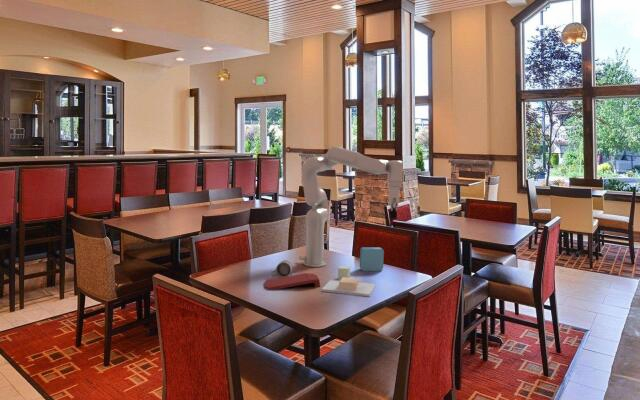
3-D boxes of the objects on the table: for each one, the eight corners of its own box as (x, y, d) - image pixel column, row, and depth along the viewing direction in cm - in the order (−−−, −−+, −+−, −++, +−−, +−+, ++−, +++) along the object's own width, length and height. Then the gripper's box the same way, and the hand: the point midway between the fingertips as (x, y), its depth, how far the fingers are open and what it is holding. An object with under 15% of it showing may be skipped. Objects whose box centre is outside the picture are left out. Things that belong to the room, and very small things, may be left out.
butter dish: (321, 291, 210) (322, 282, 210) (330, 281, 225) (330, 273, 225) (369, 296, 204) (369, 287, 204) (375, 286, 219) (375, 278, 219)
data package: (381, 268, 252) (382, 247, 251) (383, 271, 247) (384, 249, 246) (359, 268, 251) (360, 247, 249) (361, 271, 246) (361, 249, 245)
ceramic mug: (292, 273, 239) (292, 258, 238) (291, 277, 230) (291, 262, 230) (272, 273, 239) (272, 258, 238) (269, 277, 231) (269, 262, 230)
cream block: (337, 279, 229) (338, 268, 228) (340, 277, 234) (340, 265, 233) (347, 280, 228) (348, 269, 227) (349, 278, 232) (350, 266, 232)
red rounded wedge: (267, 298, 211) (320, 288, 215) (266, 288, 210) (319, 278, 214) (265, 290, 222) (316, 280, 227) (264, 280, 222) (315, 271, 226)
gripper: (386, 182, 248) (385, 214, 250) (387, 185, 231) (386, 219, 233) (401, 183, 247) (399, 215, 249) (402, 186, 230) (401, 220, 232)
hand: (393, 217), depth 241 cm, fingers open, 9 cm apart
